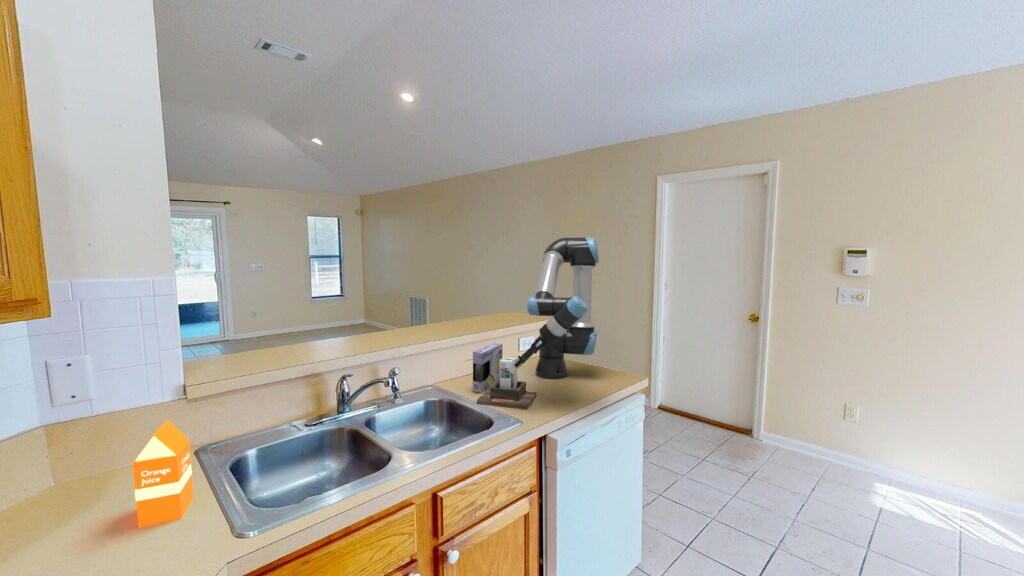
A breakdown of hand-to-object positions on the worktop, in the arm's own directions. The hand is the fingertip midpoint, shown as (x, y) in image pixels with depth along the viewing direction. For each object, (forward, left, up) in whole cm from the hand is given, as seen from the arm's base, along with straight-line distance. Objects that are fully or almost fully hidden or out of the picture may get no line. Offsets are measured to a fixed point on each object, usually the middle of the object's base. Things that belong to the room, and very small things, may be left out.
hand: (515, 366), depth 162 cm
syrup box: (-1, -3, -12) cm, 13 cm away
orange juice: (+89, -56, -14) cm, 107 cm away
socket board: (0, -3, -14) cm, 14 cm away
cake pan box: (-12, -16, -14) cm, 24 cm away
